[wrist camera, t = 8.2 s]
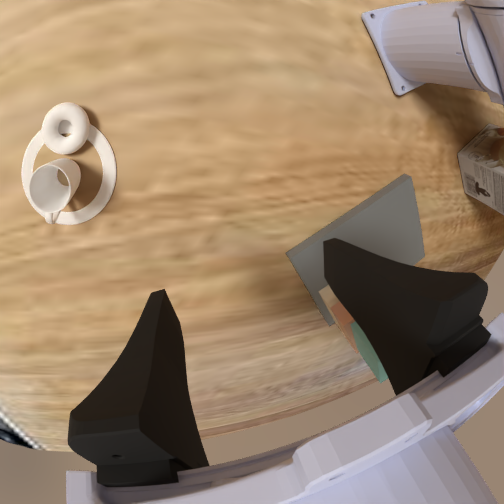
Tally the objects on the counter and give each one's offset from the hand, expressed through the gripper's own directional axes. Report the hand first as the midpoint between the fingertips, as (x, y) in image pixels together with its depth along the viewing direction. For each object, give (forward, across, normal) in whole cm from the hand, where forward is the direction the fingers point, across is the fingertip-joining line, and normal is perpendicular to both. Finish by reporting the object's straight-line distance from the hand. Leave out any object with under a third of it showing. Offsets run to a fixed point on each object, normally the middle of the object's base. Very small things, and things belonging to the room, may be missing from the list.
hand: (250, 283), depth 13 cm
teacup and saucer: (+11, +7, -6) cm, 14 cm away
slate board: (+10, -13, +9) cm, 19 cm away
